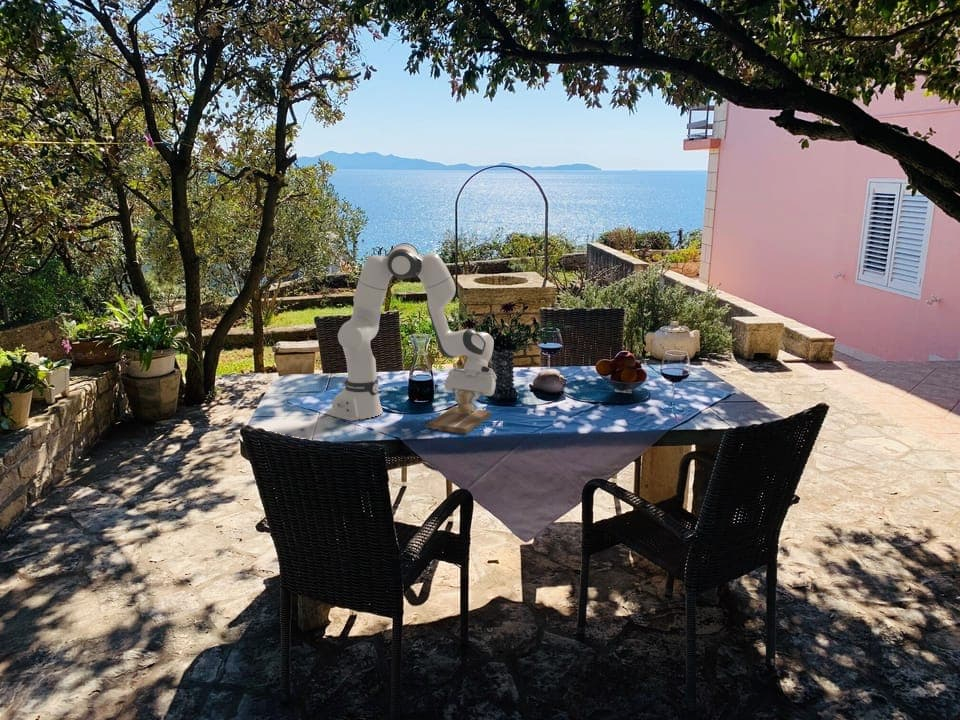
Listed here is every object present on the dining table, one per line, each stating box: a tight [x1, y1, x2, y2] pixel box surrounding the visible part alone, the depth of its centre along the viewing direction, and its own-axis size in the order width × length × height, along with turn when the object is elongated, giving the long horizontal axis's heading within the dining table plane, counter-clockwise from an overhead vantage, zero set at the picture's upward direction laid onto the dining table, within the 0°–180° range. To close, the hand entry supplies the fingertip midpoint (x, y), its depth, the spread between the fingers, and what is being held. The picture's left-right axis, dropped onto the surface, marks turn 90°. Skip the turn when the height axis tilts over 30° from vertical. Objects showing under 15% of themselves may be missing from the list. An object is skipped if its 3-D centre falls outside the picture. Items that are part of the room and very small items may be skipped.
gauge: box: [457, 391, 474, 415], centre depth 262 cm, size 6×4×8 cm, turn 65°
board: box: [427, 405, 492, 435], centre depth 259 cm, size 16×21×2 cm
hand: (464, 402), depth 262 cm, fingers closed on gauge, 5 cm apart
